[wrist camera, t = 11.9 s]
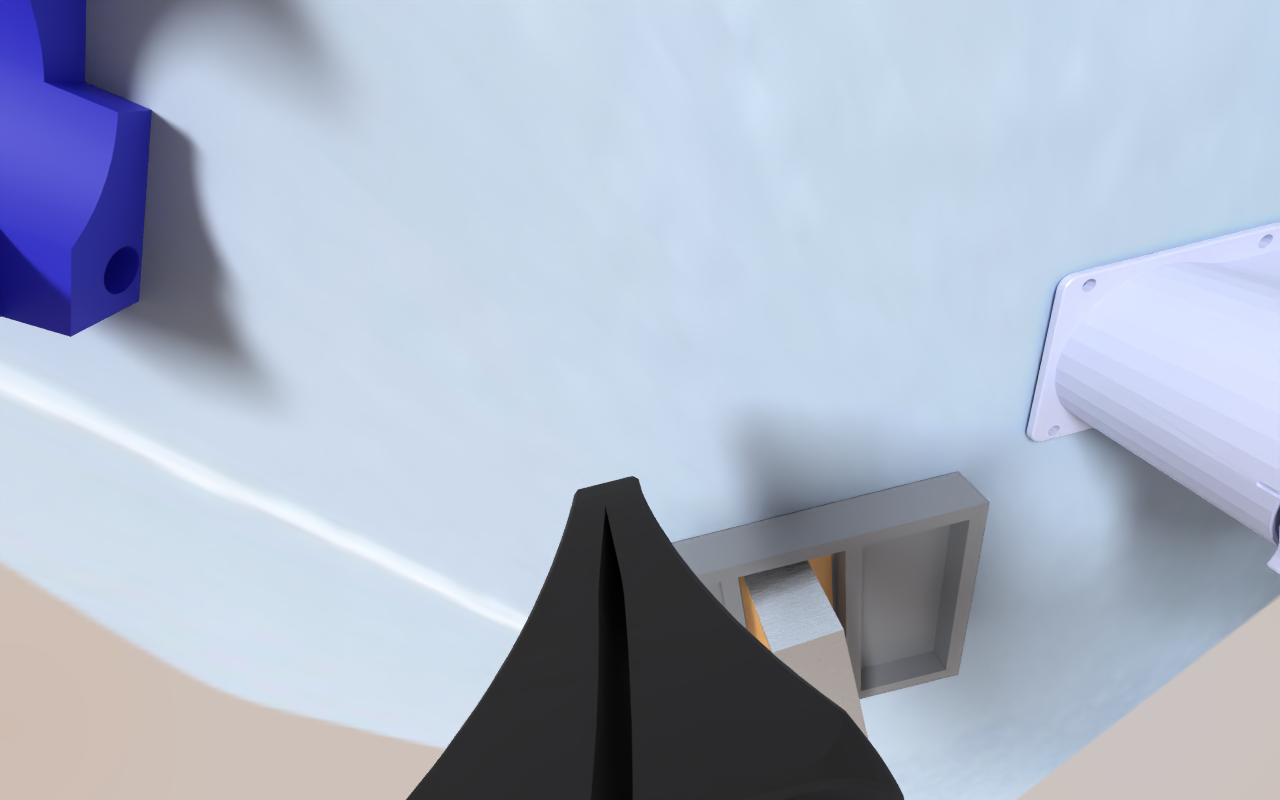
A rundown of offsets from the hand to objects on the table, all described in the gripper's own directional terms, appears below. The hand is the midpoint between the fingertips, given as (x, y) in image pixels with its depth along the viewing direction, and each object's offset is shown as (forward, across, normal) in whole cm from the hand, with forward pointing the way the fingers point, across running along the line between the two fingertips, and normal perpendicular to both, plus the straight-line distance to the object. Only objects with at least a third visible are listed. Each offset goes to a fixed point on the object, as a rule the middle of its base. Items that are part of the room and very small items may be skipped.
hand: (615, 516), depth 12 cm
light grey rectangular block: (+8, -6, +18) cm, 20 cm away
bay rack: (+9, -6, +18) cm, 21 cm away
